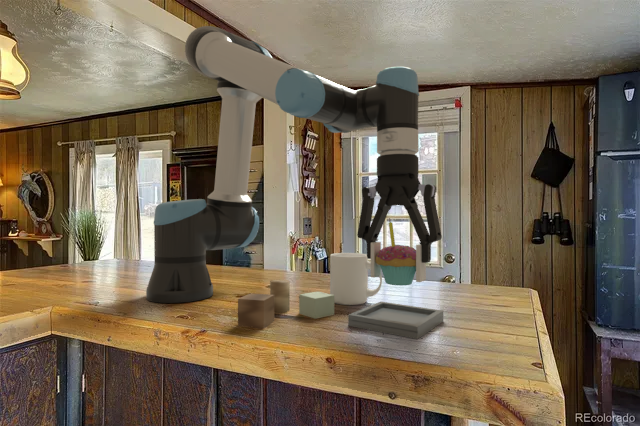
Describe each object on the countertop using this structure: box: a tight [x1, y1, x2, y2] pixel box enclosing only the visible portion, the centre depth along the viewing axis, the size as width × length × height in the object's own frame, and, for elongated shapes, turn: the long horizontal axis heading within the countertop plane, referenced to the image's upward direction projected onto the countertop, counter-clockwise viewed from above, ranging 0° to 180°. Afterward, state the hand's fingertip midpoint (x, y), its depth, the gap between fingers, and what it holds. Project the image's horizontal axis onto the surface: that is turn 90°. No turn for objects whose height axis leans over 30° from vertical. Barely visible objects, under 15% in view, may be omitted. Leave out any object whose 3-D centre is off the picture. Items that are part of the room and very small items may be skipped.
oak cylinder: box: [269, 279, 291, 314], centre depth 83 cm, size 4×4×6 cm
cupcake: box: [376, 218, 416, 287], centre depth 74 cm, size 9×8×12 cm
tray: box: [347, 301, 444, 340], centre depth 73 cm, size 13×13×2 cm
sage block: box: [298, 290, 335, 319], centre depth 80 cm, size 5×5×4 cm
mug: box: [329, 252, 383, 306], centre depth 91 cm, size 9×12×11 cm
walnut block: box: [237, 292, 275, 329], centre depth 73 cm, size 5×5×5 cm
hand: (397, 278), depth 73 cm, fingers closed on cupcake, 8 cm apart
